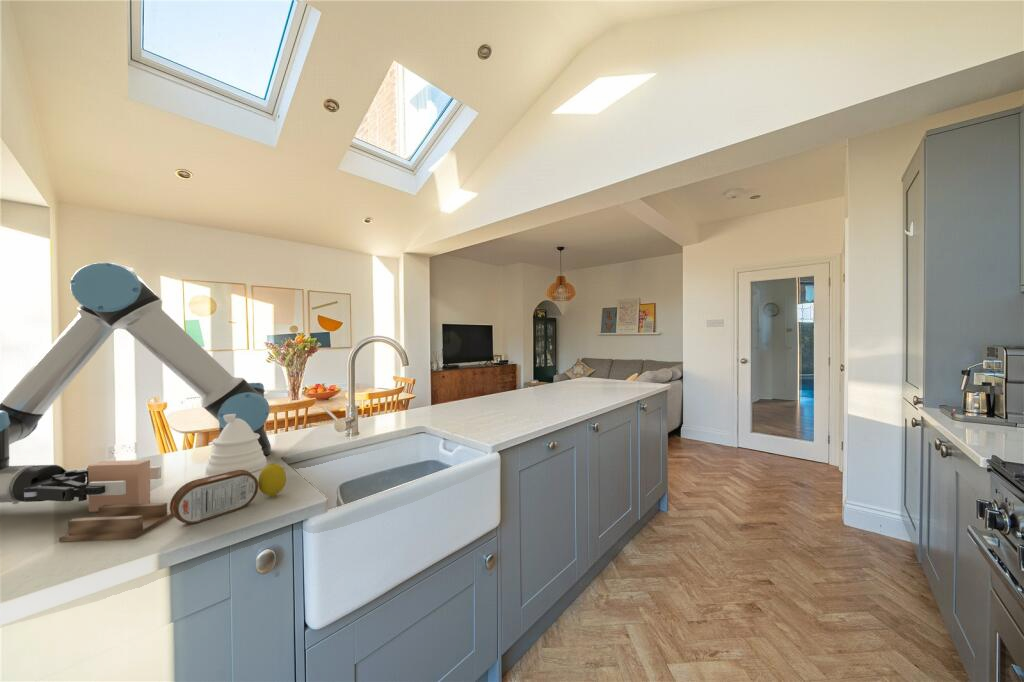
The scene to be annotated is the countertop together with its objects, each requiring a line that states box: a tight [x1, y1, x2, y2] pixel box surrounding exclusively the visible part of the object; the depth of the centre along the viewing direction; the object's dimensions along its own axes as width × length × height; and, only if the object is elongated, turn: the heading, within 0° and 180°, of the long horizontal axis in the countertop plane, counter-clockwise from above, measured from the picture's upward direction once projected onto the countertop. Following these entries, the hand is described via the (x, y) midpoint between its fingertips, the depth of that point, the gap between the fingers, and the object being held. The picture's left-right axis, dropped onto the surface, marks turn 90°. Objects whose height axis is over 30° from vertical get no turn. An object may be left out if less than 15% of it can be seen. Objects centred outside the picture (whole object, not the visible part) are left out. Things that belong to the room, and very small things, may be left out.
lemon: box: [258, 462, 287, 498], centre depth 90 cm, size 6×6×8 cm
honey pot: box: [205, 414, 267, 480], centre depth 99 cm, size 13×13×18 cm
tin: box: [169, 470, 259, 524], centre depth 81 cm, size 15×3×8 cm, turn 146°
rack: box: [58, 502, 174, 543], centre depth 75 cm, size 13×9×3 cm
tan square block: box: [87, 459, 151, 513], centre depth 85 cm, size 10×3×10 cm, turn 95°
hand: (142, 479), depth 85 cm, fingers open, 8 cm apart
